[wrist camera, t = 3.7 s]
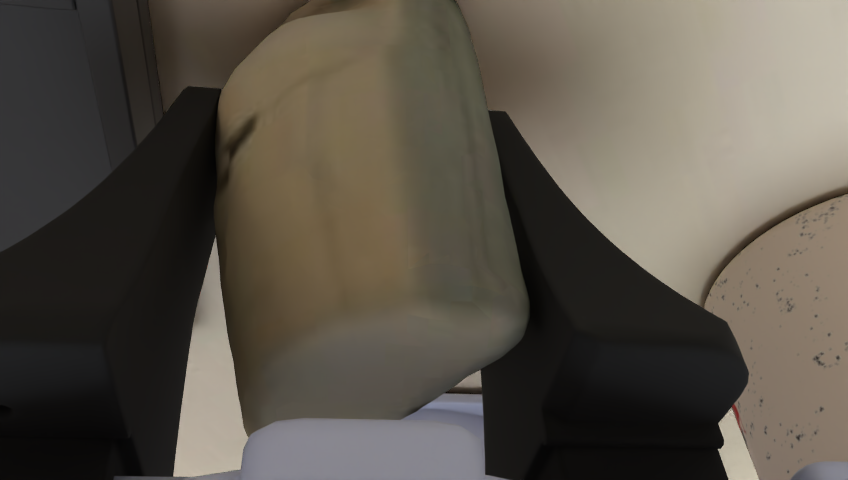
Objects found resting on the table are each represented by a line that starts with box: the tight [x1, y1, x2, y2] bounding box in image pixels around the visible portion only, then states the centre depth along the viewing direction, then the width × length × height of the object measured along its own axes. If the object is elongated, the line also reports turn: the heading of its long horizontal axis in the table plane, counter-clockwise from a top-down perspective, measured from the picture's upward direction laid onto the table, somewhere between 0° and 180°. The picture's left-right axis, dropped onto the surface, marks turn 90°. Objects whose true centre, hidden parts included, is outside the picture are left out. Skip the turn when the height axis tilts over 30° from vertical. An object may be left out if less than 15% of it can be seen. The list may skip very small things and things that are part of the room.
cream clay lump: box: [214, 0, 530, 437], centre depth 14 cm, size 6×5×8 cm
